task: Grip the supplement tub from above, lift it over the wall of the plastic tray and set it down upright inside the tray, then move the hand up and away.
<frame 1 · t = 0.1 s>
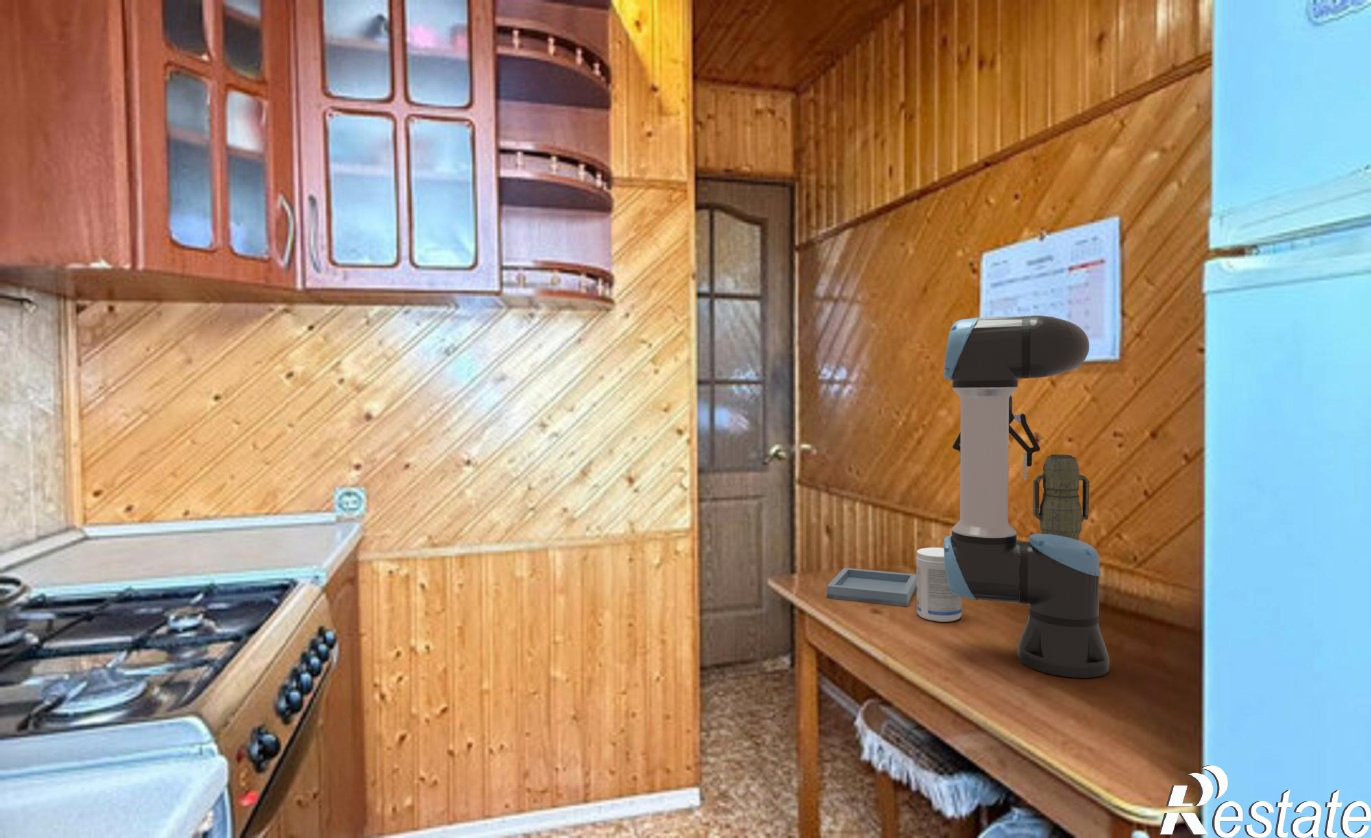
hand: (995, 478, 187), 28 cm above the table, tool pointing down, fingers open, 13 cm apart
tray: (873, 591, 186), on the table
supplement tub: (938, 617, 166), on the table
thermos: (1059, 603, 175), on the table
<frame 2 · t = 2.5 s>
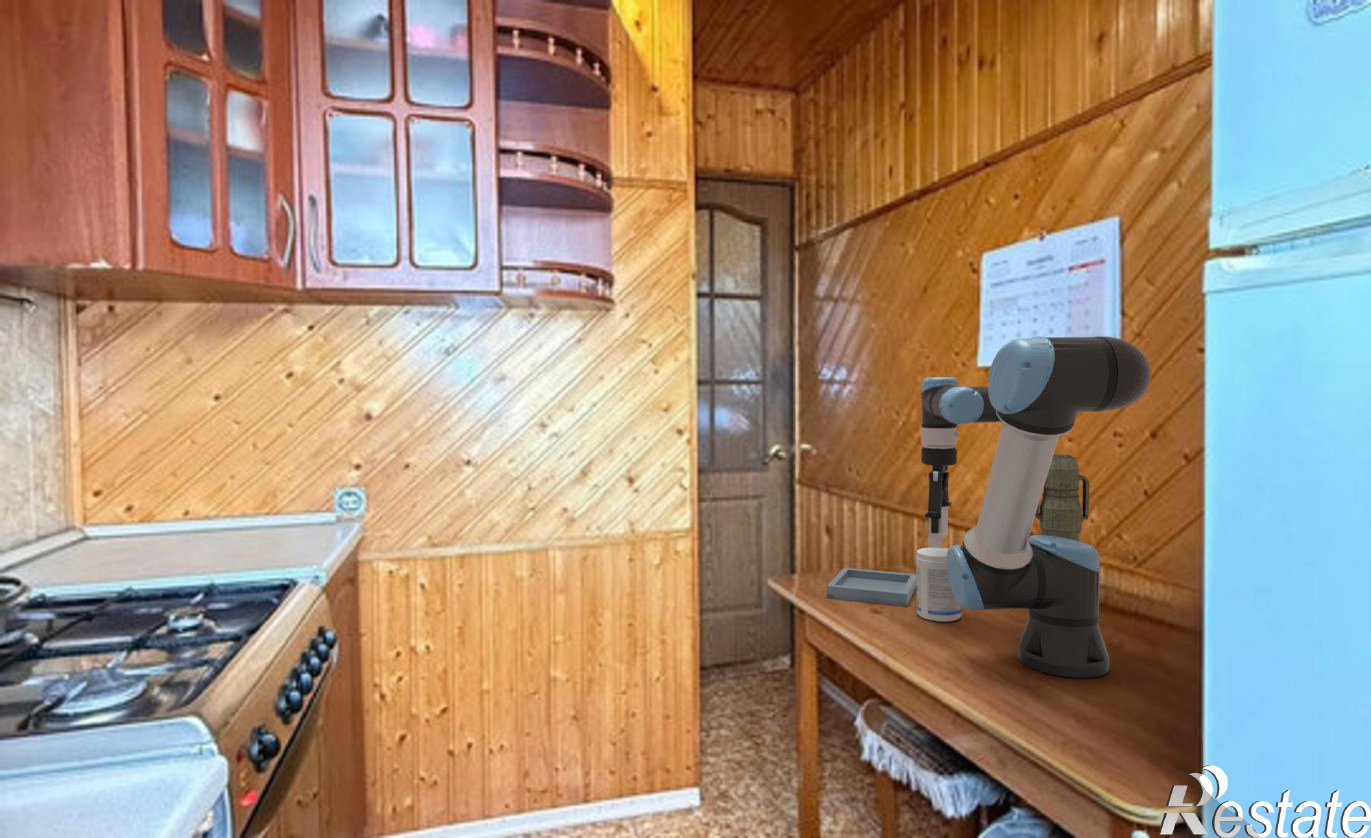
hand: (938, 540, 165), 17 cm above the table, tool pointing down, fingers open, 13 cm apart
nothing on the table moved.
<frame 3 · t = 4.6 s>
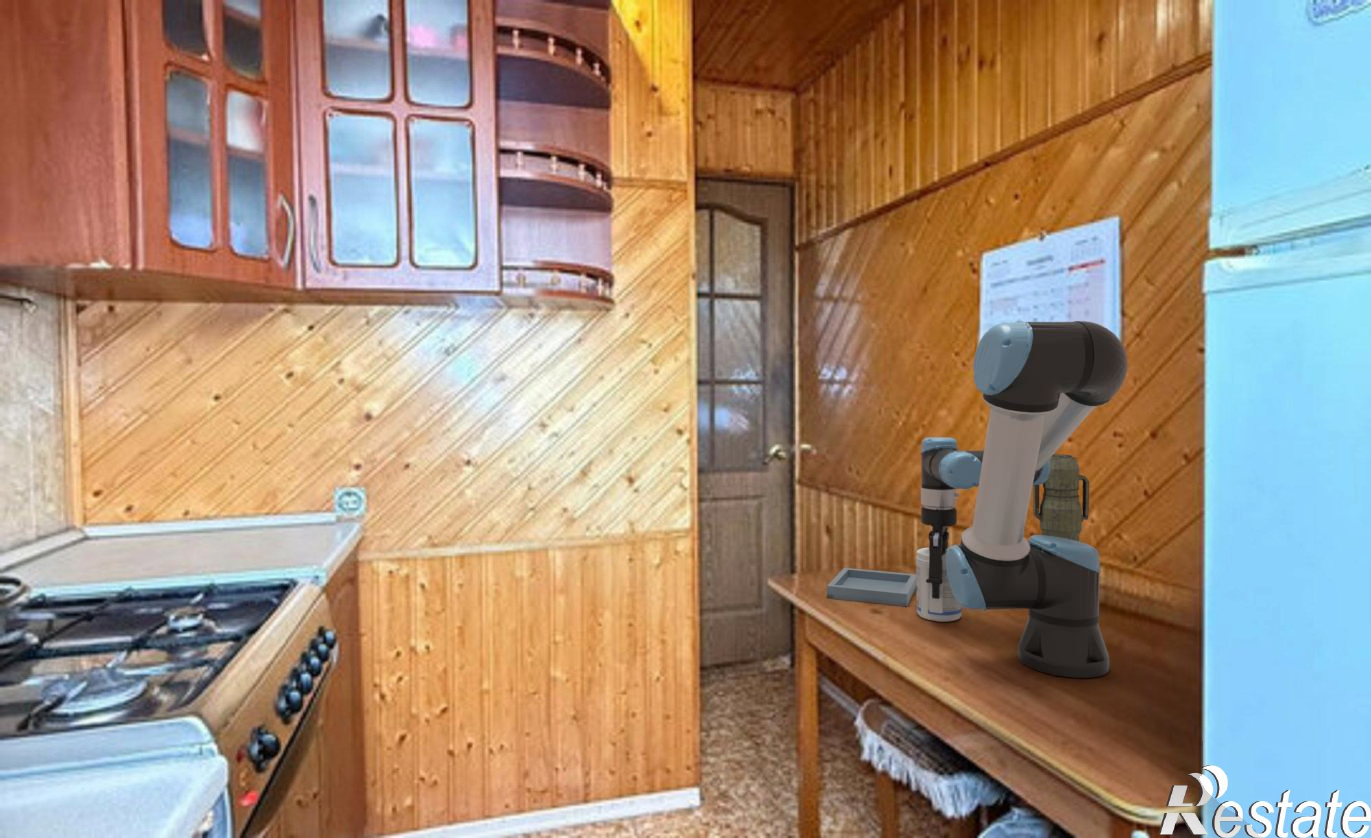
hand: (938, 605, 166), 2 cm above the table, tool pointing down, fingers closed on supplement tub, 9 cm apart
supplement tub: (938, 616, 166), on the table, touching gripper
everything else where it was.
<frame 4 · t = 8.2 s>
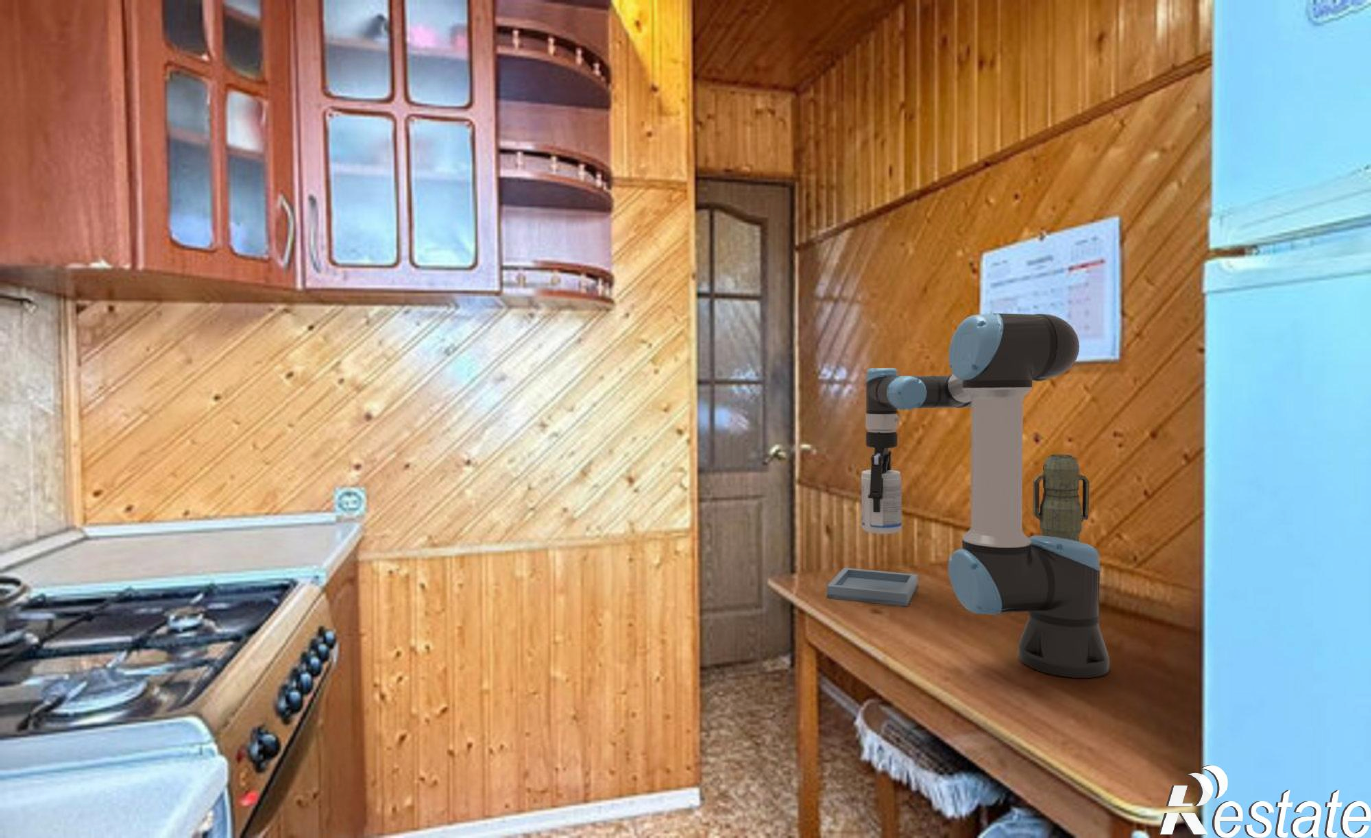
hand: (881, 521, 183), 18 cm above the table, tool pointing down, fingers closed on supplement tub, 9 cm apart
supplement tub: (881, 531, 183), point 16 cm above the table, touching gripper
everything else where it was.
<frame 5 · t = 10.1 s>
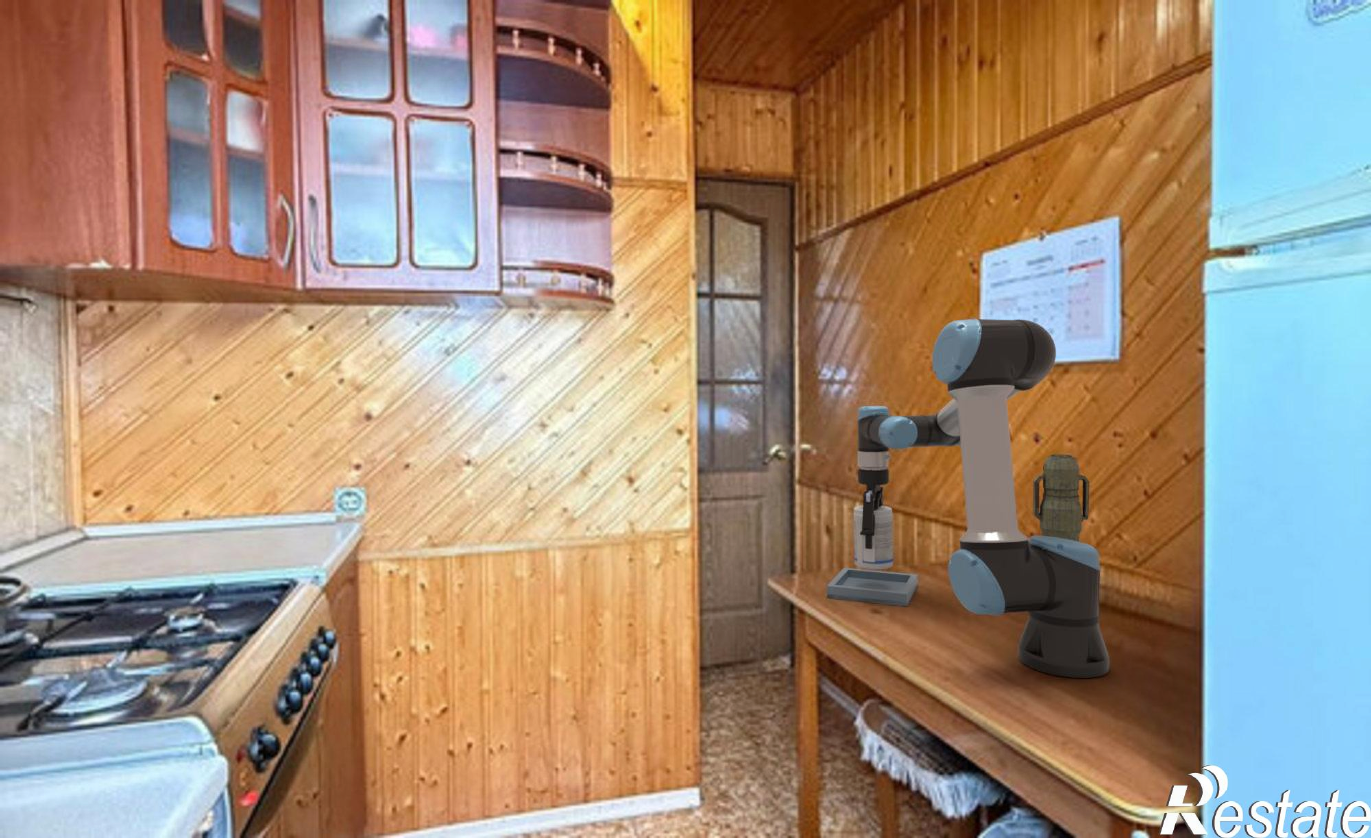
hand: (873, 556, 185), 9 cm above the table, tool pointing down, fingers closed on supplement tub, 9 cm apart
supplement tub: (873, 566, 186), point 6 cm above the table, touching gripper
everything else where it was.
when the fingers open (5 cm above the table, at t = 11.8 s): supplement tub drops 2 cm, resting on tray.
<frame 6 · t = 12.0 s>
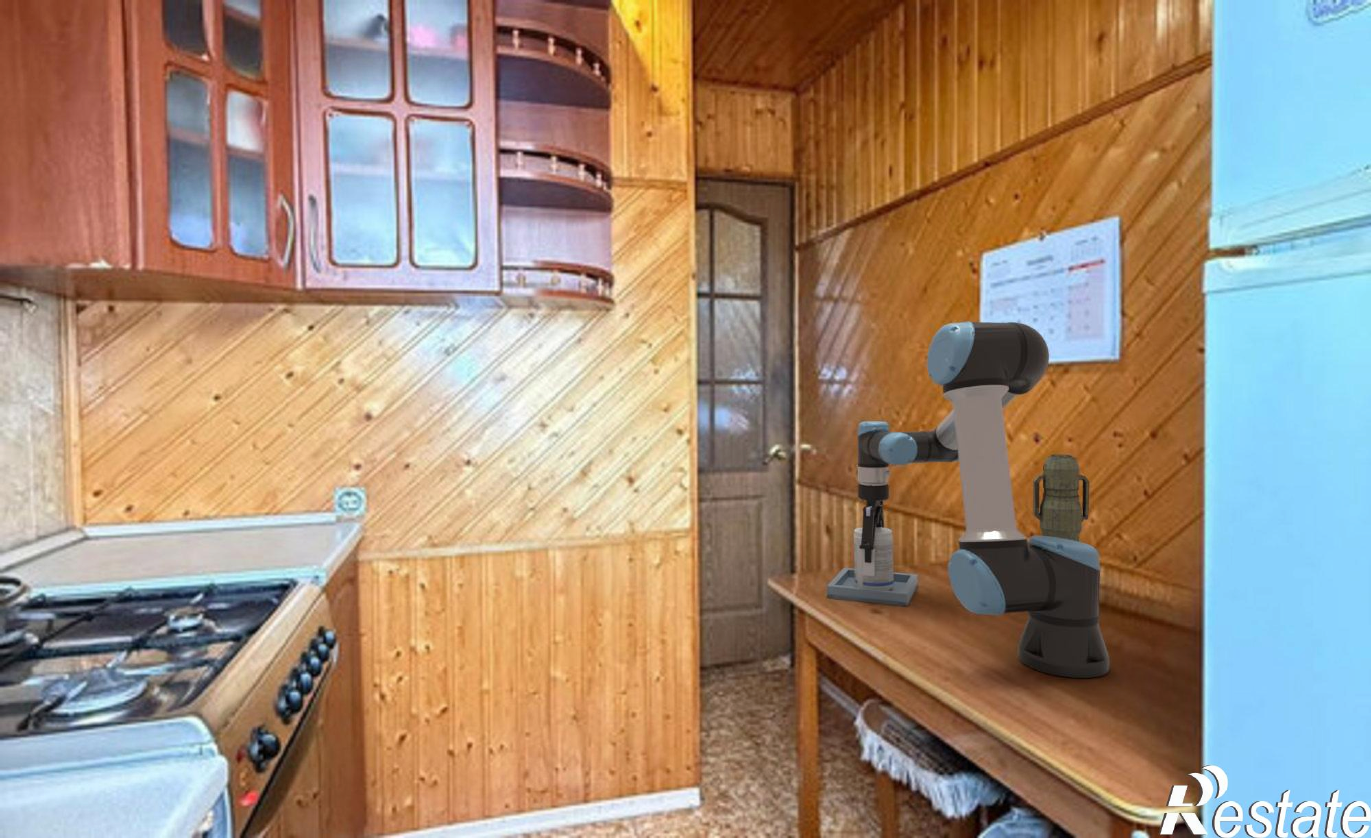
hand: (873, 569, 185), 6 cm above the table, tool pointing down, fingers open, 11 cm apart
supplement tub: (873, 588, 186), point 1 cm above the table, touching tray
everything else where it was.
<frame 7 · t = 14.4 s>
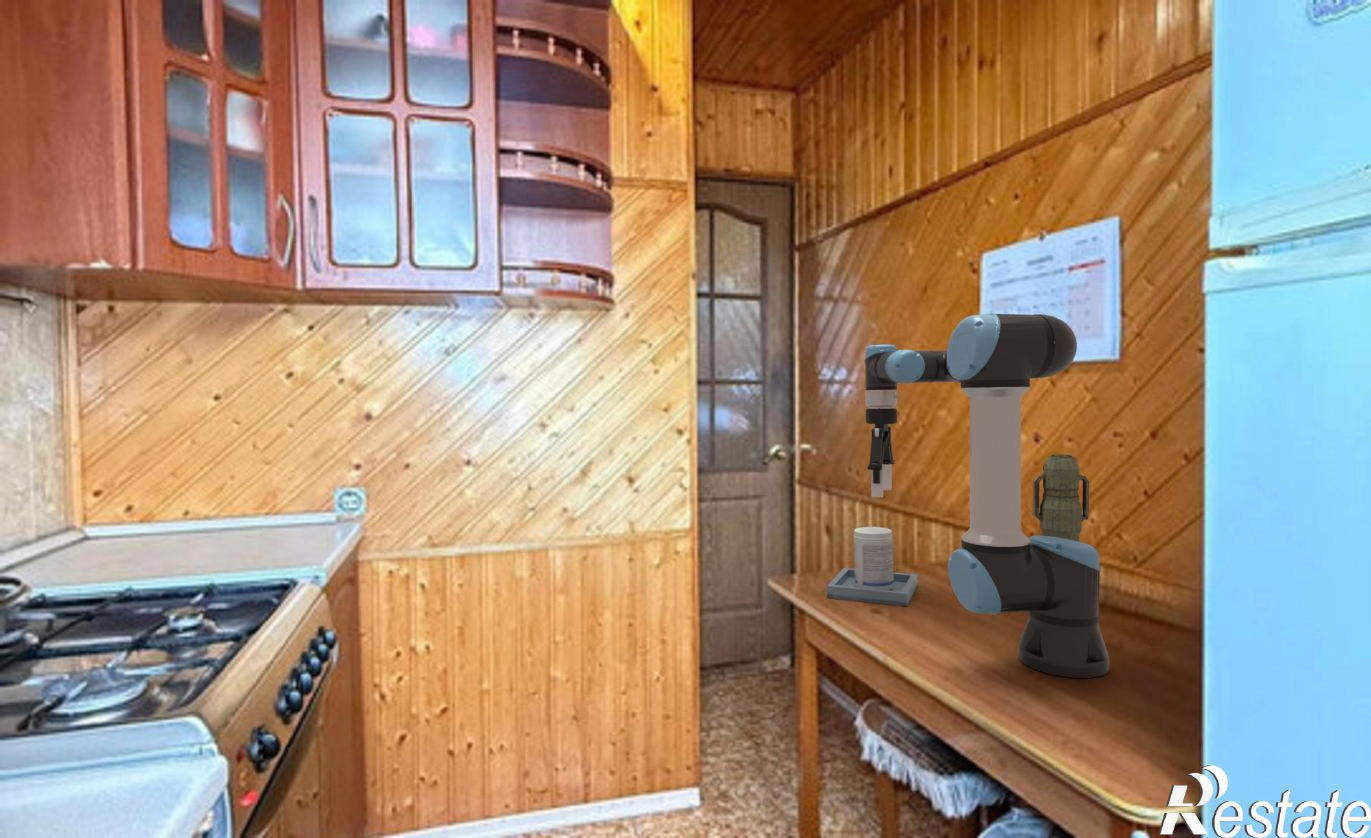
hand: (881, 493, 183), 25 cm above the table, tool pointing down, fingers open, 13 cm apart
nothing on the table moved.
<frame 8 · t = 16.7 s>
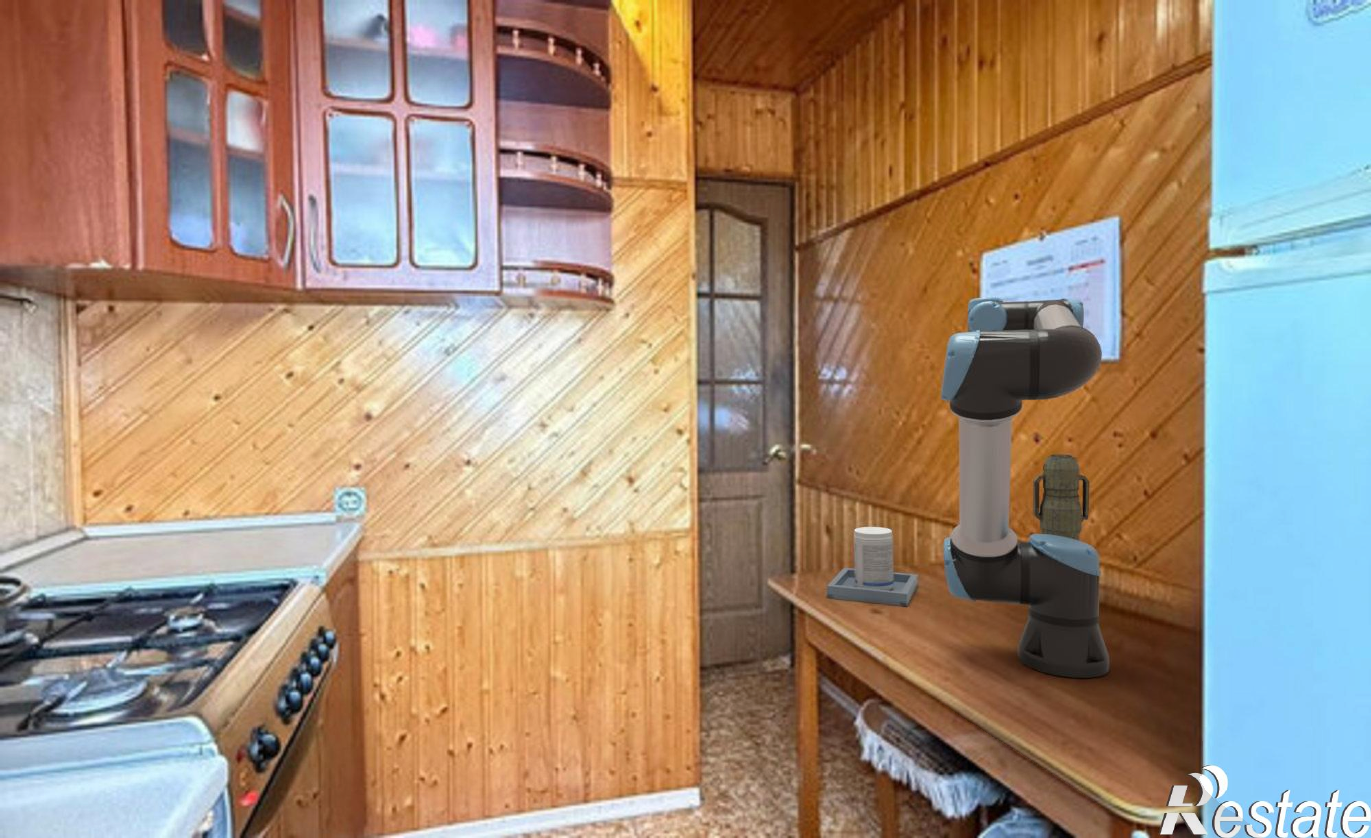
hand: (984, 459, 170), 35 cm above the table, tool pointing down, fingers open, 13 cm apart
nothing on the table moved.
at the end: supplement tub inside the target area on the tray (0.1 cm from its centre), point 0.8 cm above the tray's base; supplement tub tilted 0°; the gripper is holding nothing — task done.
